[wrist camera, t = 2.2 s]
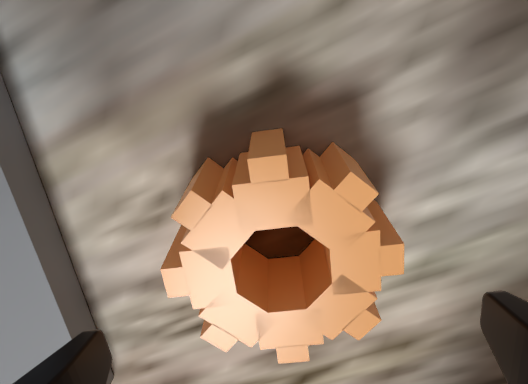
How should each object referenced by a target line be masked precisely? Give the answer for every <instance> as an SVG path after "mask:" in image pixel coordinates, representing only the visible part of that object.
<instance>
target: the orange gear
mask: <svg viewBox="0 0 528 384" xmlns="http://www.w3.org/2000/svg"><path fill="white" fill-rule="evenodd" d="M378 194H379V193H378V191H377V190H376V188H375V187H374V186H373V184H372V183H371V181H370V180H369V179H368V177H367V176H366V174H365V173H364V172H363V170H362V169H361V167H360V166H359V165H358V163H357V162H356V160H355V159H354V158H352V157H351V156H350V155H349V154H347V153H346V152H345V151H343V150H342V149H341V148H340V147H338V146H337V145H336V144H335V143H333V142H332V143H331V144H330V145H329V147H328V148H327V149H326V150H325V151H324V152H323V154H322V155H321V156H320V157H319V156H318V155H317V154H315V153H314V152H313V151H311V150H310V149H309V148H308V149H307V150H306V151H305V152H304V154H303V155H302V152H301V149H300V146H293V147H285V142H284V135H283V129H282V128H281V129H273V130H265V131H257V132H252V135H251V141H250V146H249V152H244V153H240V155H239V159H238V161H237V160H236V159H234V158H233V157H232V158H231V160H230V161H229V162H228V164H227V165H226V166H225V168H223V167H221V166H220V165H218V164H217V163H216V162H214V161H213V160H211V159H210V158H209V157H208V158H207V159H206V161H205V162H204V163H203V165H202V166H201V167H200V169H199V170H198V171H197V173H196V174H195V175H194V177H193V178H192V179H191V181H190V183H189V185H188V187H187V188H186V190H185V192H184V194H183V196H182V198H181V199H180V201H179V203H178V205H177V207H176V208H175V210H174V212H173V214H172V216H171V218H172V219H174V220H175V221H177V222H178V223H180V224H181V227H180V229H179V231H178V233H177V235H176V237H175V239H174V242H173V244H172V246H171V248H170V250H169V252H168V254H167V256H166V259H165V261H164V263H163V265H162V267H161V269H160V270H161V273H162V277H163V281H164V284H165V288H166V292H167V295H168V298H172V297H182V296H190V299H191V303H192V307H193V309H200V312H199V317H201V318H202V319H204V323H203V327H202V332H201V336H200V338H202V339H204V340H206V341H207V342H209V343H211V344H212V345H214V346H216V347H218V348H219V349H221V350H223V351H224V352H227V351H228V350H229V349H230V348H231V347H232V346H233V345H234V344H235V343H236V342H237V341H238V340H239V341H241V342H242V343H244V344H246V345H247V346H249V347H252V346H253V345H254V344H255V343H256V342H257V341H258V340H259V345H260V350H263V349H274V348H276V351H277V358H278V364H282V363H293V362H304V361H309V352H308V345H317V344H324V341H323V335H325V336H326V337H328V338H329V339H331V340H333V339H334V338H335V337H336V336H338V335H339V334H340V333H341V332H342V331H345V332H346V333H348V334H350V335H351V336H353V337H354V338H356V339H357V340H360V339H361V338H362V337H363V336H364V335H366V334H367V333H368V332H369V331H370V330H371V329H372V328H373V327H375V326H376V325H377V324H378V323H379V322H380V321H381V318H380V315H379V313H378V310H377V308H376V305H375V303H374V301H376V300H377V297H376V294H375V292H374V291H381V276H390V275H400V274H404V243H403V241H402V240H401V238H400V237H399V235H398V234H397V232H396V231H395V229H394V228H393V226H392V224H391V223H390V221H389V220H388V218H387V217H386V215H385V214H384V212H383V211H382V209H381V208H380V206H379V205H378V203H377V202H376V201H373V200H374V199H375V198H376V197H377V195H378ZM295 226H298V227H299V228H301V229H302V230H303V231H305V232H306V233H308V234H309V235H311V236H312V237H313V238H315V239H314V240H313V241H312V243H311V244H310V245H309V246H308V247H307V248H306V249H305V250H304V251H303V252H302V253H301V254H300V255H299V256H293V257H283V258H274V259H267V258H266V257H264V256H263V255H261V254H260V253H258V252H257V251H255V250H254V249H252V248H251V247H249V246H248V245H246V244H245V242H246V241H247V240H248V239H249V237H250V236H251V235H252V234H253V233H254V232H255V231H258V230H267V229H277V228H286V227H295Z"/></svg>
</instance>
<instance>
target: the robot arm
mask: <svg viewBox="0 0 528 384" xmlns="http://www.w3.org/2000/svg"><path fill="white" fill-rule="evenodd" d="M480 324H481V329H482V331H483V334H484V336H485V338H486V340H487V342H488V344H489V346H490V348H491V350H492V352H493V354H494V356H495V358H496V360H497V362H498V364H499V366H500V368H501V370H502V372H503V374H504V376H505V378H506V381H507V383H508V384H528V302H527V301H524V300H522V299H520V298H518V297H516V296H514V295H512V294H510V293H508V292H505V291H494V292H486V293H485V294H484V295H483V299H482V309H481V318H480ZM111 363H112V357H111V353H110V350H109V347H108V345H107V342H106V339H105V336H104V334H103V332H102V331H101V330H87V331H83V332H81V333H80V334H78V335H77V336H76V337H74V338H73V339H72V340H70V341H69V342H68V343H66V344H65V345H64V346H62V347H61V348H60V349H58V350H57V351H56V352H54V353H53V354H52V355H50V356H49V357H48V358H46V359H45V360H44V361H42V362H41V363H40V364H38V365H37V366H36V367H34V368H33V369H31V370H30V371H29V372H27V373H26V374H25V375H23V376H22V377H21V378H19V379H18V380H17V381H15V382H14V383H13V384H106V383H107V379H108V376H109V372H110V368H111Z"/></svg>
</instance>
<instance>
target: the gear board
mask: <svg viewBox="0 0 528 384" xmlns="http://www.w3.org/2000/svg"><path fill="white" fill-rule="evenodd" d="M87 330H96V328H95V325H94V322H93V320H92V317H91V314H90V311H89V309H88V306H87V303H86V301H85V298H84V295H83V293H82V290H81V287H80V285H79V282H78V279H77V277H76V274H75V271H74V269H73V266H72V263H71V261H70V258H69V255H68V253H67V250H66V247H65V245H64V242H63V239H62V237H61V234H60V231H59V229H58V226H57V223H56V221H55V218H54V215H53V212H52V210H51V207H50V204H49V202H48V199H47V196H46V194H45V191H44V188H43V186H42V183H41V180H40V178H39V175H38V172H37V170H36V167H35V164H34V162H33V159H32V156H31V154H30V151H29V148H28V146H27V143H26V140H25V138H24V135H23V132H22V130H21V127H20V124H19V121H18V119H17V116H16V113H15V111H14V108H13V105H12V103H11V100H10V97H9V95H8V92H7V89H6V87H5V84H4V81H3V79H2V76H1V73H0V384H13V383H14V382H15V381H17V380H18V379H19V378H21V377H22V376H23V375H25V374H26V373H27V372H29V371H30V370H31V369H33V368H34V367H36V366H37V365H38V364H40V363H41V362H42V361H44V360H45V359H46V358H48V357H49V356H50V355H52V354H53V353H54V352H56V351H57V350H58V349H60V348H61V347H62V346H64V345H65V344H66V343H68V342H69V341H70V340H72V339H73V338H74V337H76V336H77V335H78V334H80V333H81V332H83V331H87ZM113 378H114V376H113V373H112V370H111V368H110V372H109V376H108V379H107V383H106V384H111V382H112V380H113Z"/></svg>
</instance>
